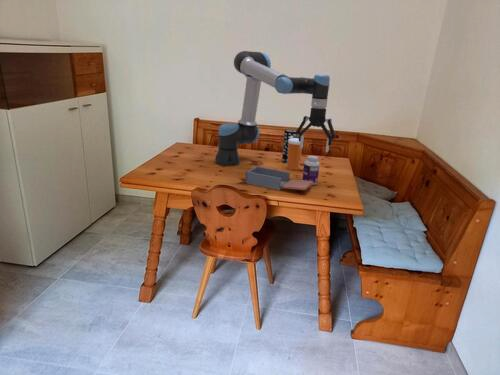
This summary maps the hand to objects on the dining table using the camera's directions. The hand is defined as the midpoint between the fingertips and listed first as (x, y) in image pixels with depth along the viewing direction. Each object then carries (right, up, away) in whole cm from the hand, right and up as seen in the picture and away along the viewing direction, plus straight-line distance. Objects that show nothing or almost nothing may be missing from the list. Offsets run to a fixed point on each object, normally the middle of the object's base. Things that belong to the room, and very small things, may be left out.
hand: (313, 149), depth 178 cm
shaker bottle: (-7, -8, +31) cm, 33 cm away
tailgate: (-14, -17, -3) cm, 23 cm away
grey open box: (-24, -17, +2) cm, 29 cm away
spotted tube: (-8, -3, +45) cm, 46 cm away
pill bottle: (-1, -17, +6) cm, 18 cm away
